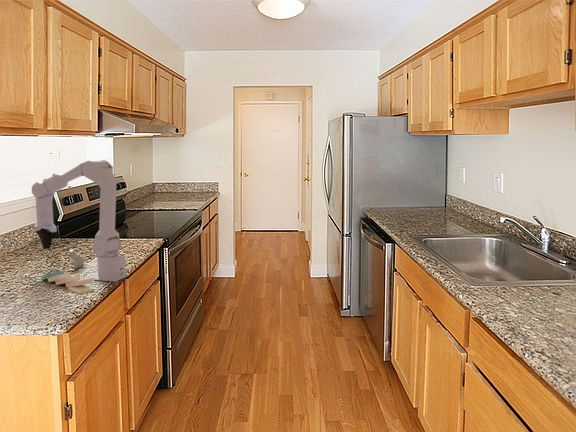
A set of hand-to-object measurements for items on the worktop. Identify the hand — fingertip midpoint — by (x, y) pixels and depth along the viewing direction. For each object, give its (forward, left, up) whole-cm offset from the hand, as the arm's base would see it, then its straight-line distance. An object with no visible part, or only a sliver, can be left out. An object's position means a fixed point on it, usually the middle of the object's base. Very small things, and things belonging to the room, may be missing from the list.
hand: (46, 248), depth 206 cm
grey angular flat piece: (-5, -11, -10) cm, 16 cm away
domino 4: (-23, +16, -10) cm, 29 cm away
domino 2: (-14, +12, -9) cm, 21 cm away
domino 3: (-20, +14, -9) cm, 26 cm away
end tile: (-5, +7, -9) cm, 12 cm away
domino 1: (-10, +9, -9) cm, 16 cm away
